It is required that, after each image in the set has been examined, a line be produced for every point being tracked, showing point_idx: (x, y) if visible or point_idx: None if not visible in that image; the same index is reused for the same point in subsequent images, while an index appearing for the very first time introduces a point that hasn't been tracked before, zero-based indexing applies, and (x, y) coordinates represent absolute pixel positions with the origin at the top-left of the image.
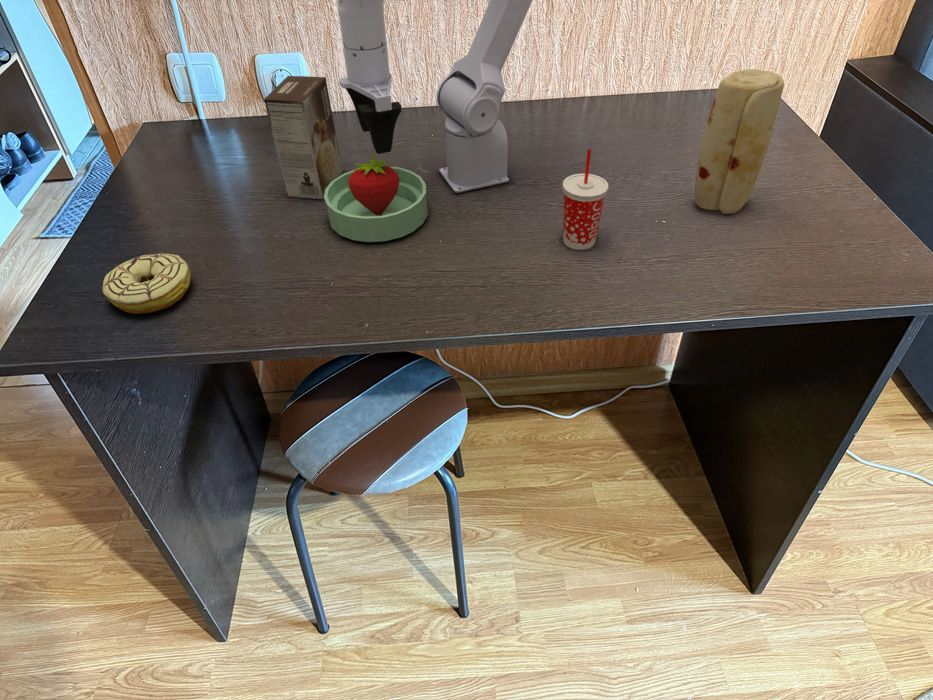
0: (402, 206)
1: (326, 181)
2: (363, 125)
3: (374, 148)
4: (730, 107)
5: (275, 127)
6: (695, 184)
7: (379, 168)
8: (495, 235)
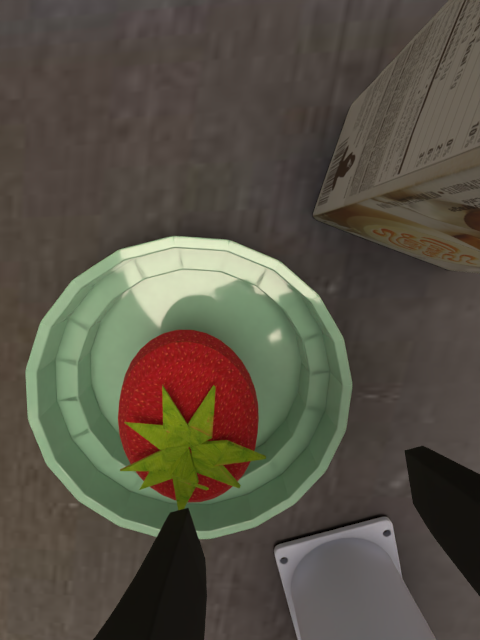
0: None
1: (359, 230)
2: (423, 471)
3: (181, 518)
4: None
5: None
6: None
7: (163, 475)
8: (88, 609)
